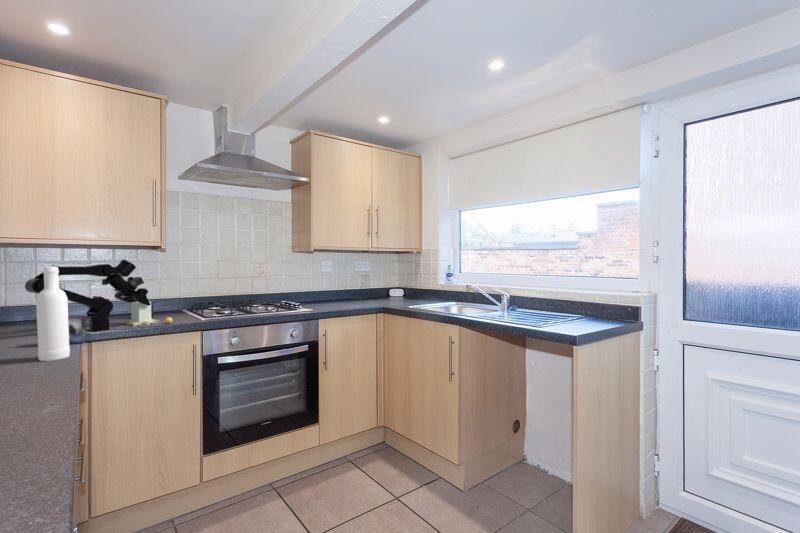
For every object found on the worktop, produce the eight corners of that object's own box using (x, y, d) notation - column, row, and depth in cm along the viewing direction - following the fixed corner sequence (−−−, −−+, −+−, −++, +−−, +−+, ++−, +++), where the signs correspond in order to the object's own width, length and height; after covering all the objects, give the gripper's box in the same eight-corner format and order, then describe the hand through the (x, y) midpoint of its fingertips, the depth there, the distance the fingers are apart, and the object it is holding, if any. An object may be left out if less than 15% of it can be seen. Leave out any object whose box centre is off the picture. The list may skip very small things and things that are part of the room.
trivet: (133, 326, 194) (133, 323, 194) (122, 324, 201) (122, 321, 201) (160, 322, 204) (160, 320, 204) (149, 320, 211) (149, 318, 211)
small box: (47, 346, 151) (46, 318, 151) (54, 343, 157) (53, 316, 157) (82, 343, 156) (81, 316, 155) (87, 340, 162) (86, 314, 161)
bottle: (31, 361, 129) (27, 267, 128) (52, 355, 137) (48, 266, 136) (56, 361, 129) (52, 267, 128) (76, 355, 137) (72, 266, 136)
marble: (167, 324, 198) (166, 317, 198) (164, 323, 200) (163, 317, 200) (173, 323, 201) (173, 317, 201) (170, 322, 203) (170, 316, 203)
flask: (133, 319, 218) (132, 299, 218) (135, 318, 221) (134, 298, 220) (153, 318, 221) (152, 298, 221) (154, 317, 224) (154, 297, 223)
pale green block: (139, 322, 198) (138, 303, 198) (131, 321, 201) (130, 302, 201) (151, 320, 204) (150, 301, 203) (143, 319, 206) (143, 301, 206)
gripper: (143, 271, 194) (166, 292, 204) (120, 271, 202) (143, 291, 212) (126, 289, 187) (151, 310, 197) (103, 288, 195) (128, 308, 206)
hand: (143, 304), depth 203 cm, fingers open, 9 cm apart
